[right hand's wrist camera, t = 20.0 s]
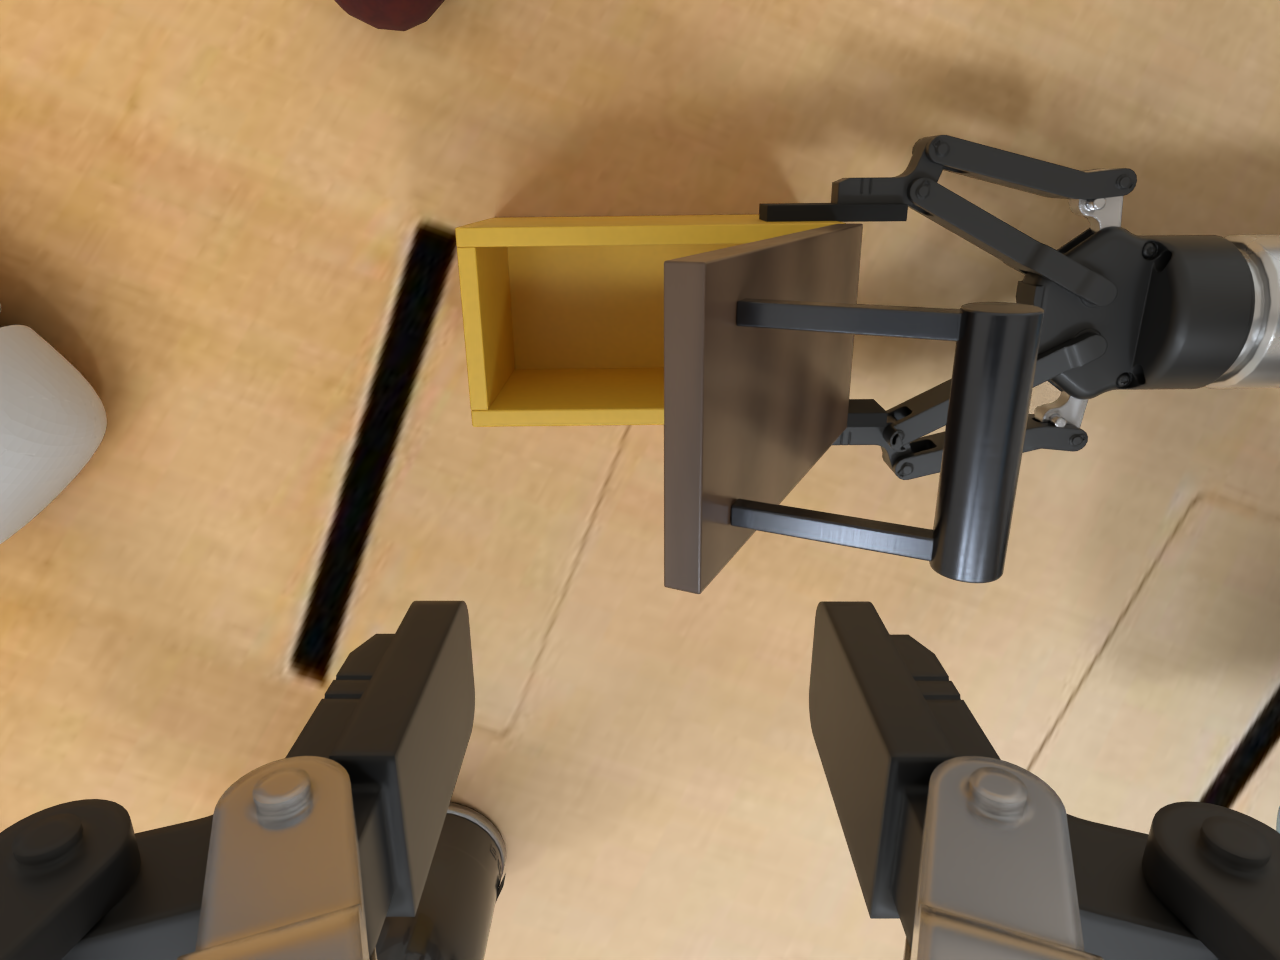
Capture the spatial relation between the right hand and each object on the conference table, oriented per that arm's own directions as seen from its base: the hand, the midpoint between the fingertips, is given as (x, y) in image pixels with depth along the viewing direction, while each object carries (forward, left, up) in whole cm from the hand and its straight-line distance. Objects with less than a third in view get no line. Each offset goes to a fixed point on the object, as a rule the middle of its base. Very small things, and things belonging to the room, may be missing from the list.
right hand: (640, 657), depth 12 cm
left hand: (+6, 0, -31) cm, 31 cm away
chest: (0, 0, -38) cm, 38 cm away
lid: (+5, 0, -19) cm, 20 cm away
